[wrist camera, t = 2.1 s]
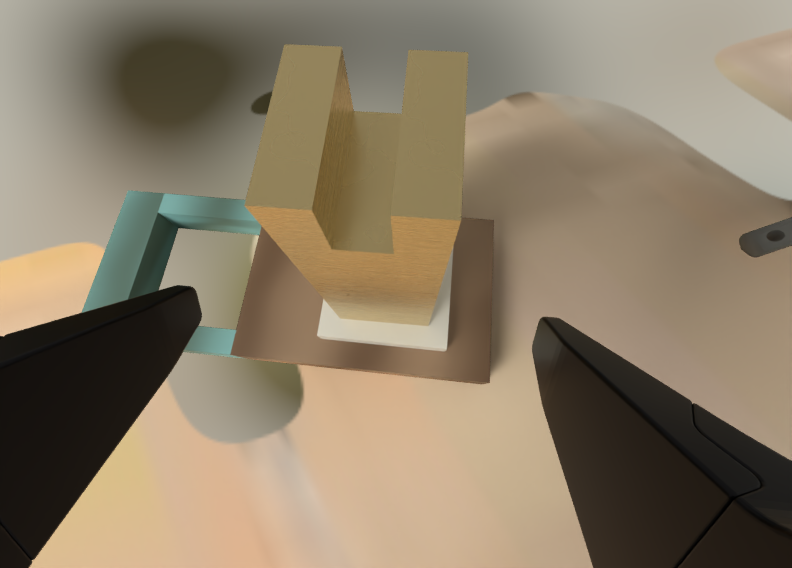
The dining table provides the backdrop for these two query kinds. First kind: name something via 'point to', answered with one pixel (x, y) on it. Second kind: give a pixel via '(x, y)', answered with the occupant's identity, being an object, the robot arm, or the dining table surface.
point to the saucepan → (767, 238)
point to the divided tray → (305, 297)
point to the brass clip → (364, 182)
